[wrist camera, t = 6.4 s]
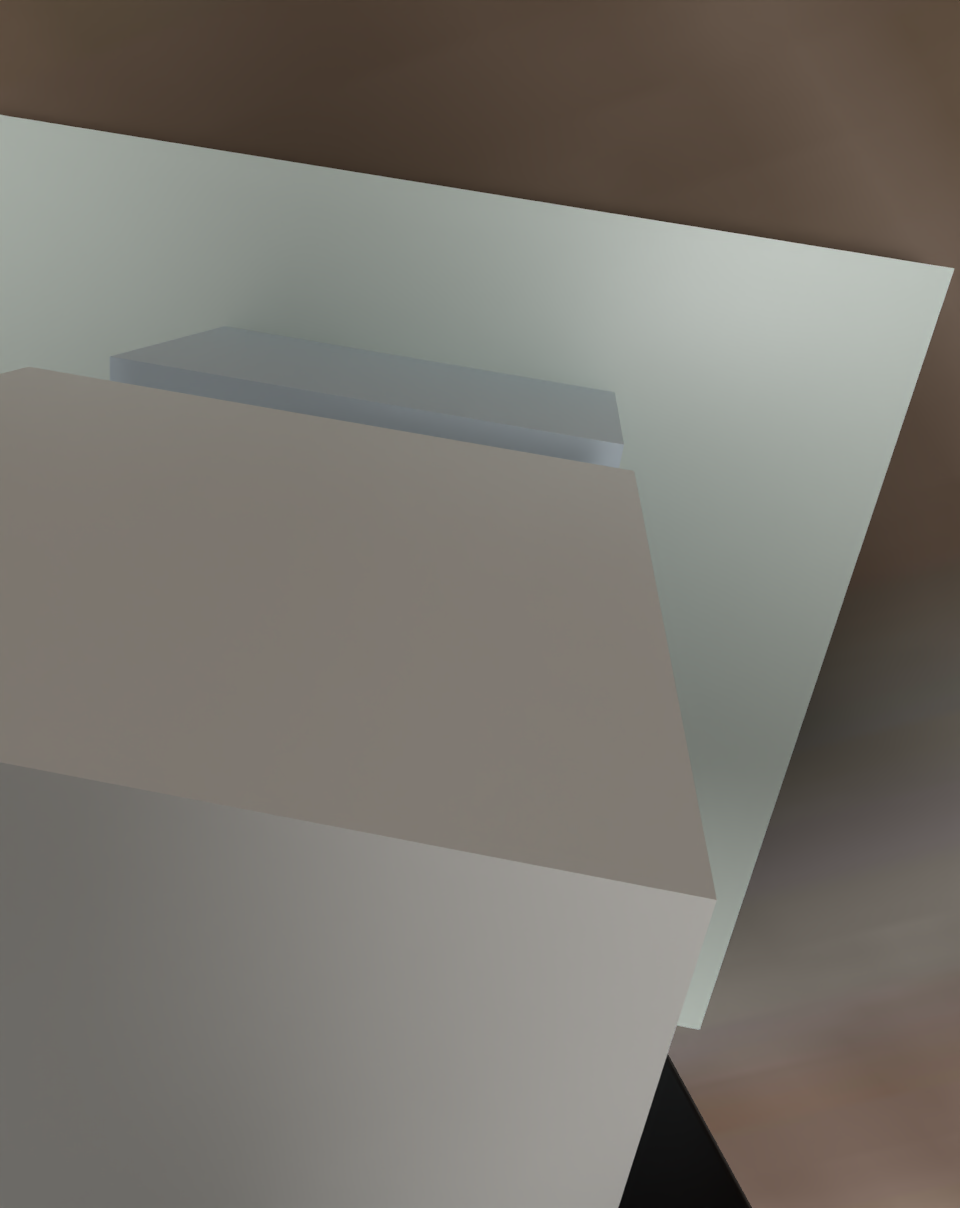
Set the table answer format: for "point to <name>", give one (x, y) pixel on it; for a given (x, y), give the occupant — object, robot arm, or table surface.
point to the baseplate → (556, 297)
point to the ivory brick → (328, 813)
